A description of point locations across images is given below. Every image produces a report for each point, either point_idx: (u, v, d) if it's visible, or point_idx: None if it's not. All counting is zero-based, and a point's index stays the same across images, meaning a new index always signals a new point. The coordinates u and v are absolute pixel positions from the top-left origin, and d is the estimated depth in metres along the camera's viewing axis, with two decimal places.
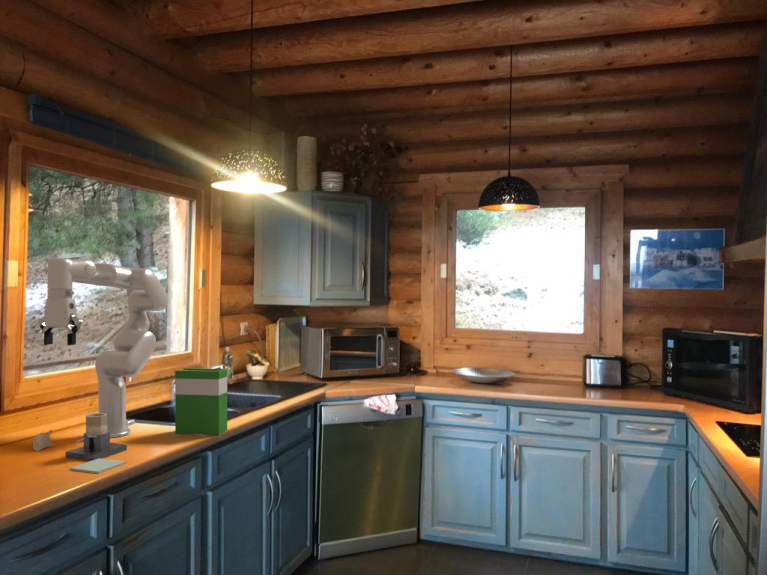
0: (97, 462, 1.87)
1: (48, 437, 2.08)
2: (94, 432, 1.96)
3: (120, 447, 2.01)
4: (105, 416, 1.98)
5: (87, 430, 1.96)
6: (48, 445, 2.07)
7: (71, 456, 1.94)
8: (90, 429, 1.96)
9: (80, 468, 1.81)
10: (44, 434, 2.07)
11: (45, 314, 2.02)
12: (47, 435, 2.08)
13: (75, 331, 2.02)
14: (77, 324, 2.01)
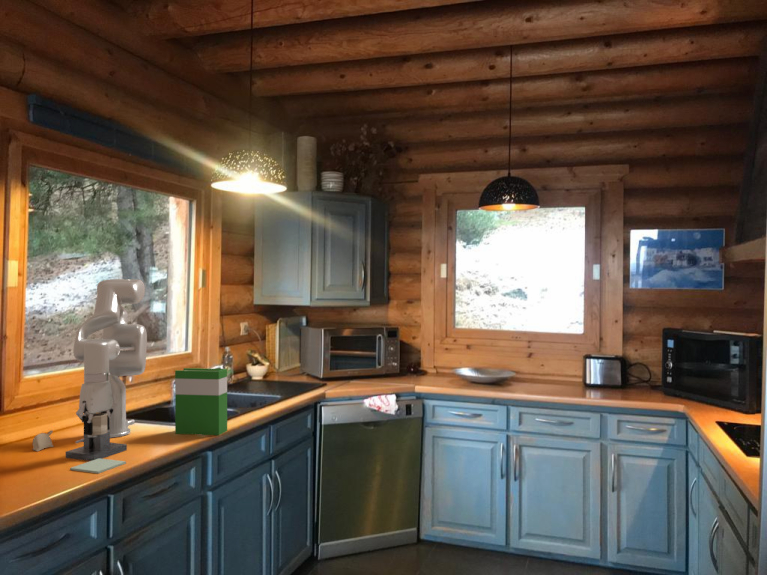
0: (97, 462, 1.87)
1: (48, 437, 2.08)
2: (94, 432, 1.96)
3: (120, 447, 2.01)
4: (105, 416, 1.98)
5: None
6: (48, 445, 2.07)
7: (71, 456, 1.94)
8: None
9: (80, 468, 1.81)
10: (44, 434, 2.07)
11: (92, 401, 1.95)
12: (47, 435, 2.08)
13: None
14: (113, 408, 2.05)
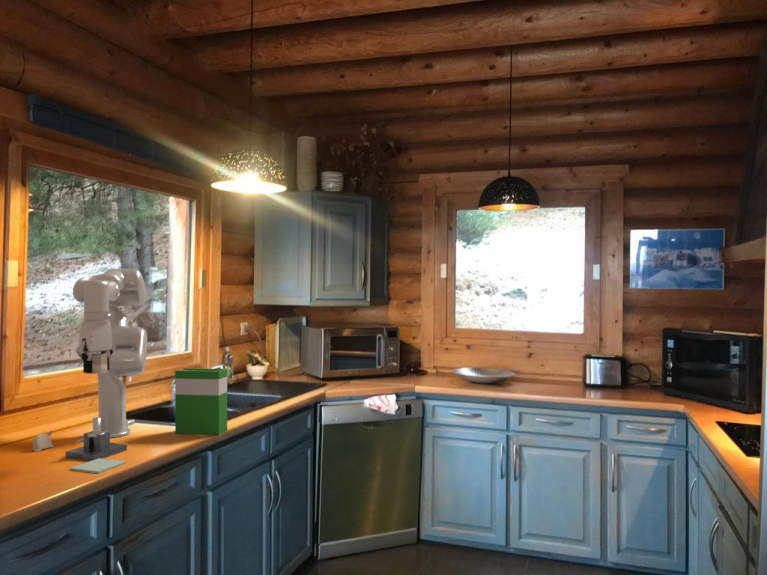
0: (97, 462, 1.87)
1: (48, 438, 2.07)
2: (94, 370, 1.94)
3: (120, 447, 2.01)
4: (105, 355, 1.97)
5: None
6: (48, 446, 2.06)
7: (71, 456, 1.94)
8: None
9: (80, 468, 1.81)
10: (44, 435, 2.06)
11: (91, 338, 1.93)
12: (47, 436, 2.07)
13: None
14: (113, 349, 2.04)
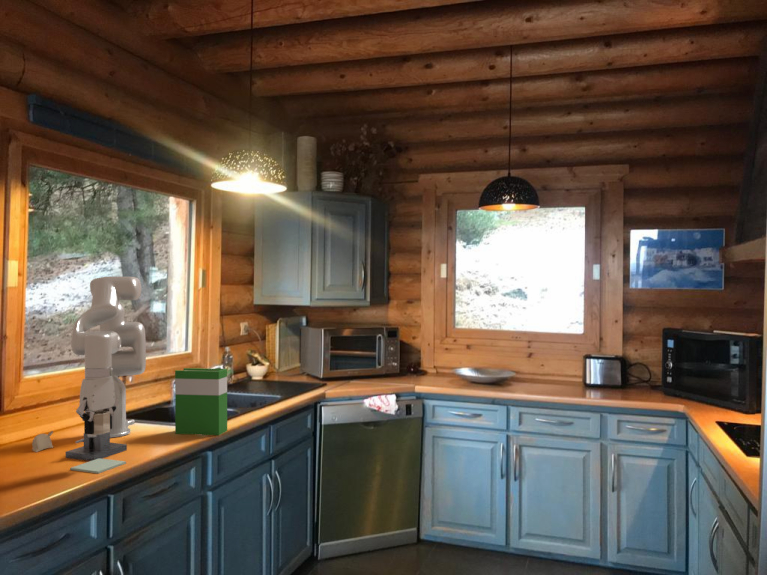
0: (97, 462, 1.87)
1: (48, 438, 2.07)
2: (96, 431, 1.81)
3: (120, 447, 2.01)
4: (107, 414, 1.84)
5: None
6: (48, 446, 2.05)
7: (71, 456, 1.94)
8: None
9: (80, 468, 1.81)
10: (44, 435, 2.06)
11: (93, 397, 1.80)
12: (47, 436, 2.07)
13: None
14: (116, 405, 1.91)
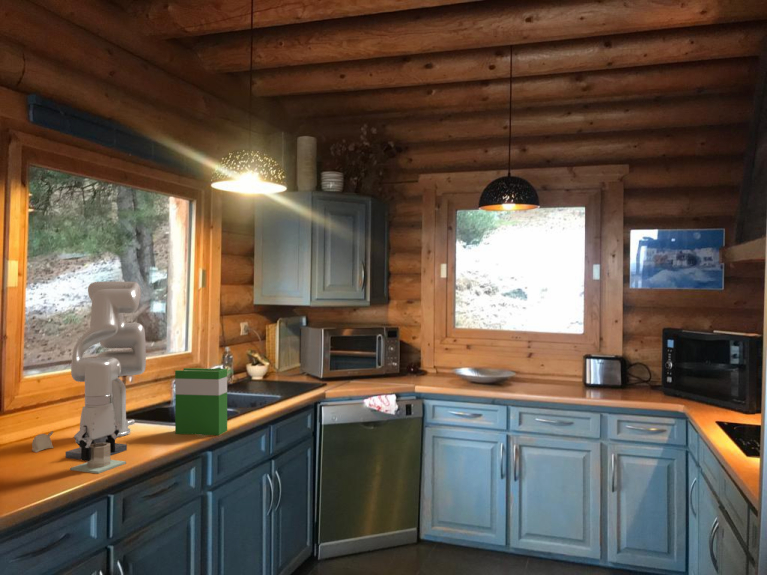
0: None
1: (48, 438, 2.06)
2: (96, 464, 1.81)
3: (120, 447, 2.01)
4: (108, 446, 1.84)
5: (88, 462, 1.82)
6: (48, 446, 2.05)
7: (71, 456, 1.94)
8: (92, 461, 1.81)
9: (80, 468, 1.81)
10: (44, 435, 2.05)
11: (93, 425, 1.80)
12: (47, 436, 2.06)
13: None
14: (118, 428, 1.92)
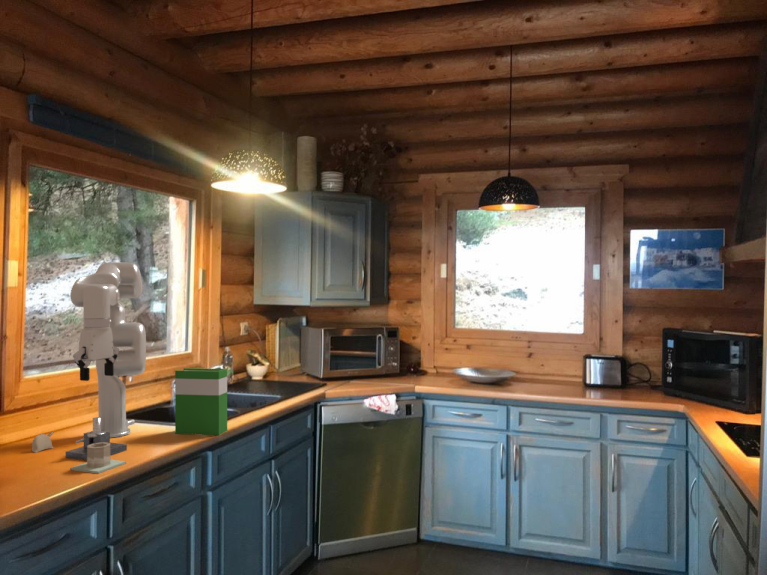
0: None
1: (48, 439, 2.06)
2: (96, 464, 1.81)
3: (120, 447, 2.01)
4: (108, 446, 1.84)
5: (88, 462, 1.82)
6: (47, 447, 2.05)
7: (71, 456, 1.94)
8: (92, 461, 1.81)
9: (80, 468, 1.81)
10: (44, 435, 2.05)
11: (92, 347, 1.84)
12: (47, 436, 2.06)
13: None
14: (117, 353, 1.95)
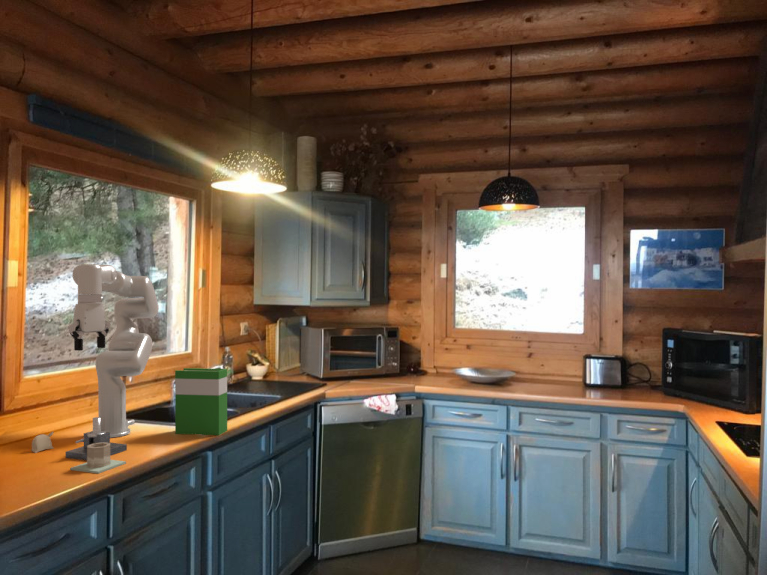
0: None
1: (48, 439, 2.06)
2: (96, 464, 1.81)
3: (120, 447, 2.01)
4: (108, 446, 1.84)
5: (88, 462, 1.82)
6: (47, 447, 2.04)
7: (71, 456, 1.94)
8: (92, 461, 1.81)
9: (80, 468, 1.81)
10: (44, 436, 2.05)
11: (85, 319, 2.02)
12: (47, 437, 2.06)
13: None
14: (108, 327, 2.14)
